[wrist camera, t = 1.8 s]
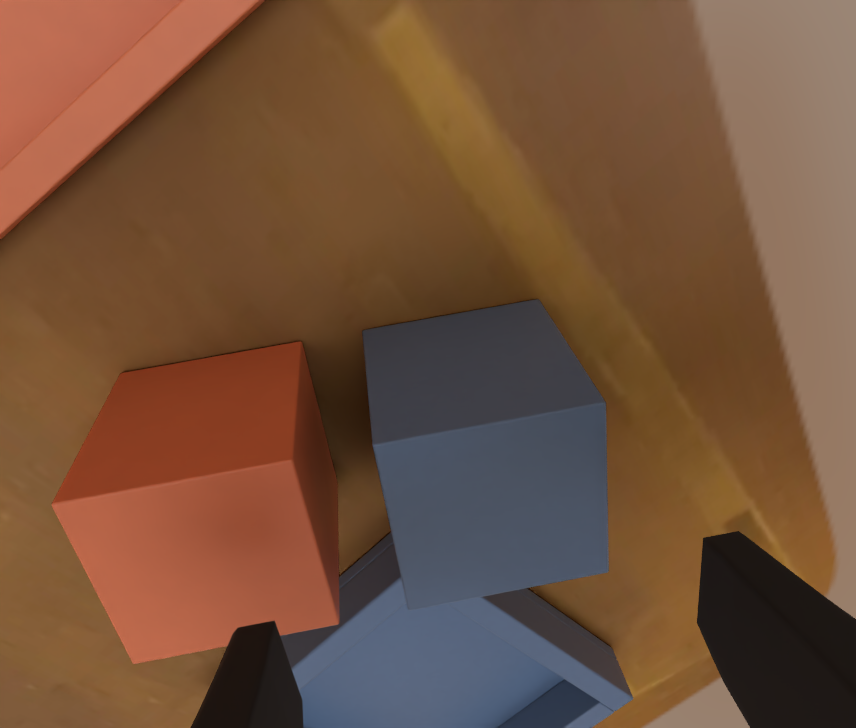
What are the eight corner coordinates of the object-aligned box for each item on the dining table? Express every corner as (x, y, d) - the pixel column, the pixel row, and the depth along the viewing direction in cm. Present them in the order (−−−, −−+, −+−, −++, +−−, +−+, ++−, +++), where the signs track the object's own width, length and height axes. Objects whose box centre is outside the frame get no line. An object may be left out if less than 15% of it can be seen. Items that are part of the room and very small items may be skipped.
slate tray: (415, 509, 21) (423, 558, 19) (612, 647, 25) (634, 699, 23) (208, 688, 23) (199, 747, 21) (418, 788, 27) (424, 844, 25)
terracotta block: (301, 340, 18) (292, 460, 13) (337, 482, 20) (339, 624, 15) (119, 372, 17) (49, 504, 13) (176, 512, 20) (132, 665, 15)
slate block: (538, 298, 18) (607, 402, 13) (548, 443, 20) (609, 573, 16) (361, 329, 18) (372, 445, 13) (391, 472, 20) (408, 612, 16)
